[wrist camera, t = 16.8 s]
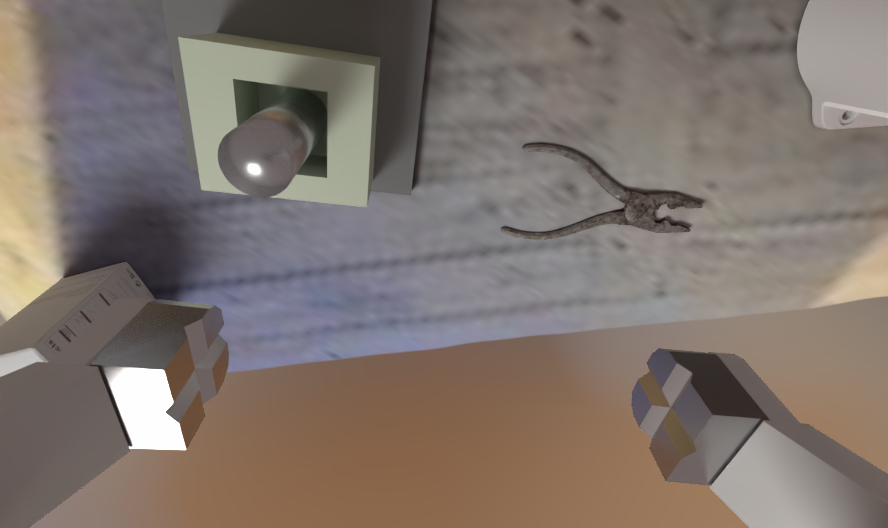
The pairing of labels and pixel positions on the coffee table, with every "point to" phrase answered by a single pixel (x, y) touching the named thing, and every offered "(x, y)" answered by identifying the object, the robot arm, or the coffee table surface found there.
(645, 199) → the pliers
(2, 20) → the coffee table surface
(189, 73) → the frame
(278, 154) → the grey cylindrical peg
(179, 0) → the mat
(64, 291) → the supplement box
